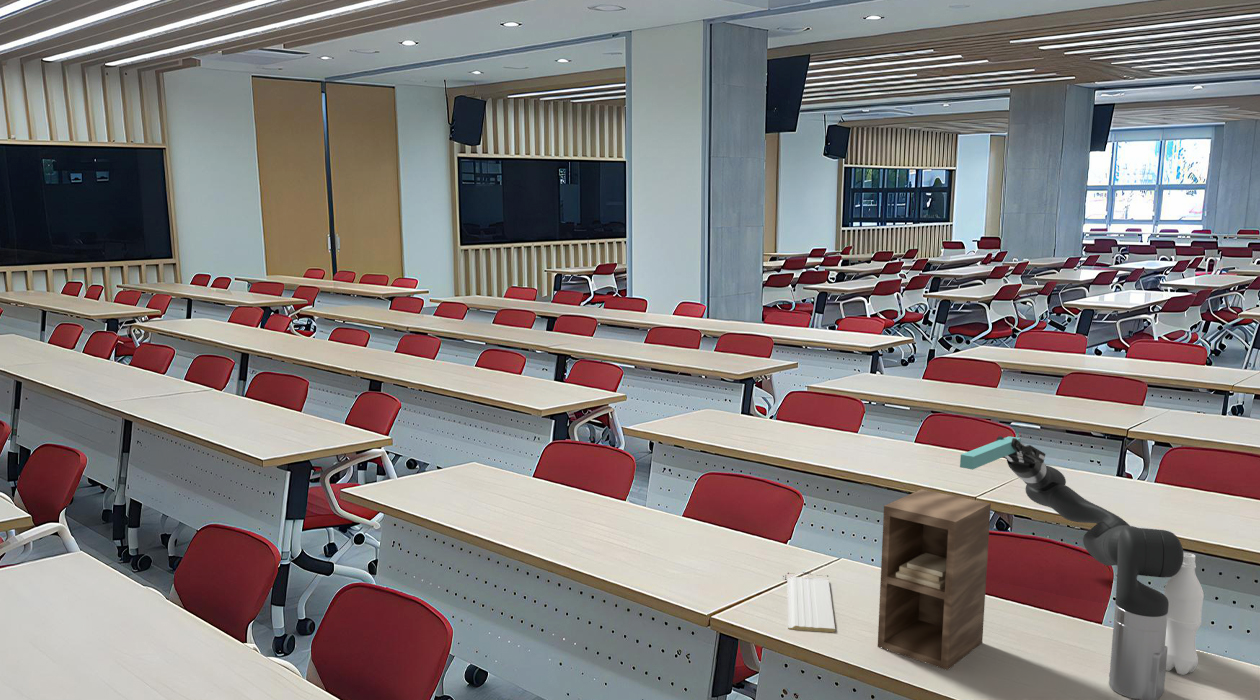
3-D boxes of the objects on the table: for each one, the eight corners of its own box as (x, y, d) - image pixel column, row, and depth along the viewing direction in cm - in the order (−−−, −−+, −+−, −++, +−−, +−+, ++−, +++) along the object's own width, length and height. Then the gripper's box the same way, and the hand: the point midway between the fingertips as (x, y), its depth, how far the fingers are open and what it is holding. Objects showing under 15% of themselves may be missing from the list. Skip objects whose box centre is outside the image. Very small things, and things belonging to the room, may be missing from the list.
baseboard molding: (781, 631, 217) (834, 635, 215) (782, 619, 217) (835, 623, 215) (781, 581, 248) (828, 584, 246) (781, 570, 247) (828, 573, 245)
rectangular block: (1020, 449, 236) (1020, 438, 236) (972, 469, 216) (973, 456, 215) (1008, 448, 238) (1008, 436, 238) (960, 467, 218) (960, 454, 217)
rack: (982, 642, 211) (990, 503, 206) (947, 670, 197) (955, 521, 193) (914, 622, 221) (921, 489, 217) (877, 646, 208) (884, 505, 204)
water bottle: (1152, 668, 199) (1162, 554, 196) (1163, 658, 204) (1173, 546, 201) (1190, 680, 194) (1201, 563, 190) (1201, 669, 199) (1211, 554, 195)
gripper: (1003, 447, 250) (981, 422, 238) (1058, 455, 241) (1038, 430, 229) (996, 473, 248) (974, 450, 236) (1051, 483, 239) (1031, 459, 227)
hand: (1006, 440), depth 233 cm, fingers closed on rectangular block, 3 cm apart
